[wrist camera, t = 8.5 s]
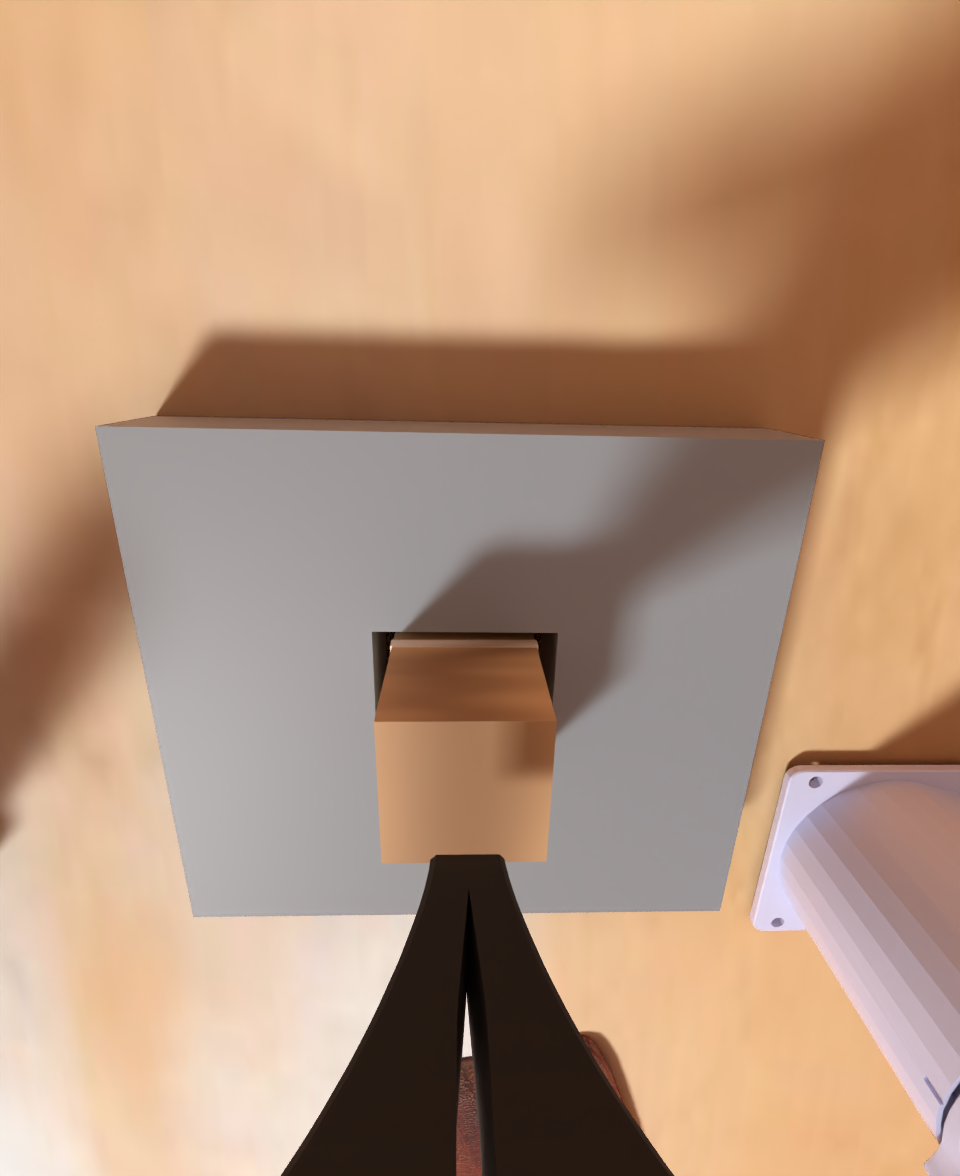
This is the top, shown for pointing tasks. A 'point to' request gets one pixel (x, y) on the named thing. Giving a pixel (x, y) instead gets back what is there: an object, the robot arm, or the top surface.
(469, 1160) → the wooden tablet
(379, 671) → the slate board
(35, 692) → the top surface
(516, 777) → the oak peg
